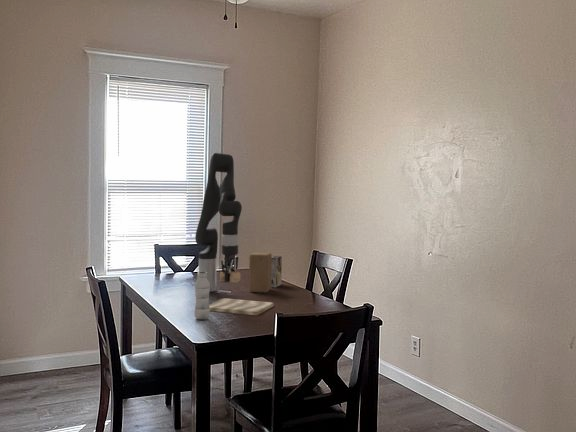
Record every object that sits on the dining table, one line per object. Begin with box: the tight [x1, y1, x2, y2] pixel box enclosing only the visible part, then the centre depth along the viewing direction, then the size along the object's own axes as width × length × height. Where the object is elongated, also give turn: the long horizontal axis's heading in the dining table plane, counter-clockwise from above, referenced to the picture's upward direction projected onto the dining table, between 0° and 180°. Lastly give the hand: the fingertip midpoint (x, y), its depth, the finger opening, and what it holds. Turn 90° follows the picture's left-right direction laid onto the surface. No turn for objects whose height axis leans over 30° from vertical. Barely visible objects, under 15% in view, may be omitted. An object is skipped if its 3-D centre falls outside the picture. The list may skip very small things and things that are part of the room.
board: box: [209, 297, 274, 316], centre depth 269 cm, size 26×20×2 cm
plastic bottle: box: [193, 271, 211, 321], centre depth 247 cm, size 6×7×20 cm
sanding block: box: [219, 271, 241, 285], centre depth 270 cm, size 8×5×4 cm, turn 64°
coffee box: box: [271, 255, 283, 288], centre depth 323 cm, size 9×6×16 cm
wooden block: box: [248, 251, 273, 294], centre depth 308 cm, size 10×10×20 cm
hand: (229, 280), depth 270 cm, fingers closed on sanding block, 5 cm apart
